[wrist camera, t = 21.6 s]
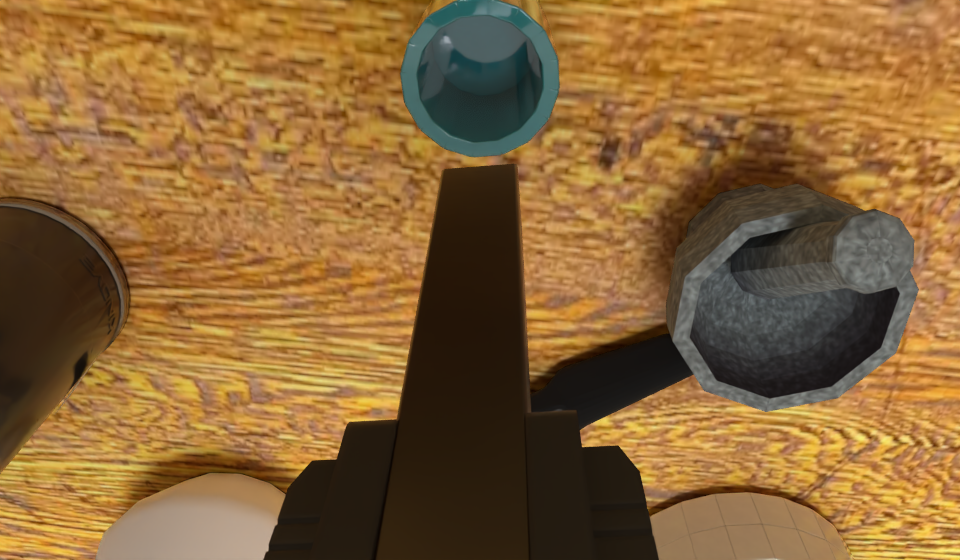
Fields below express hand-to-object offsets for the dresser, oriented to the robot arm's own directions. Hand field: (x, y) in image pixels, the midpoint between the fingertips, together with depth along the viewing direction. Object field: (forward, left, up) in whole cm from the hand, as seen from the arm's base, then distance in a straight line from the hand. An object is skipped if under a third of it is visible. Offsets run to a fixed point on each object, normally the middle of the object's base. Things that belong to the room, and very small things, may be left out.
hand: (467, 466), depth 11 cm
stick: (0, 0, -9) cm, 9 cm away
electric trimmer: (+2, -18, -26) cm, 32 cm away
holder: (0, +1, -26) cm, 26 cm away
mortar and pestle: (+12, -9, -26) cm, 30 cm away
